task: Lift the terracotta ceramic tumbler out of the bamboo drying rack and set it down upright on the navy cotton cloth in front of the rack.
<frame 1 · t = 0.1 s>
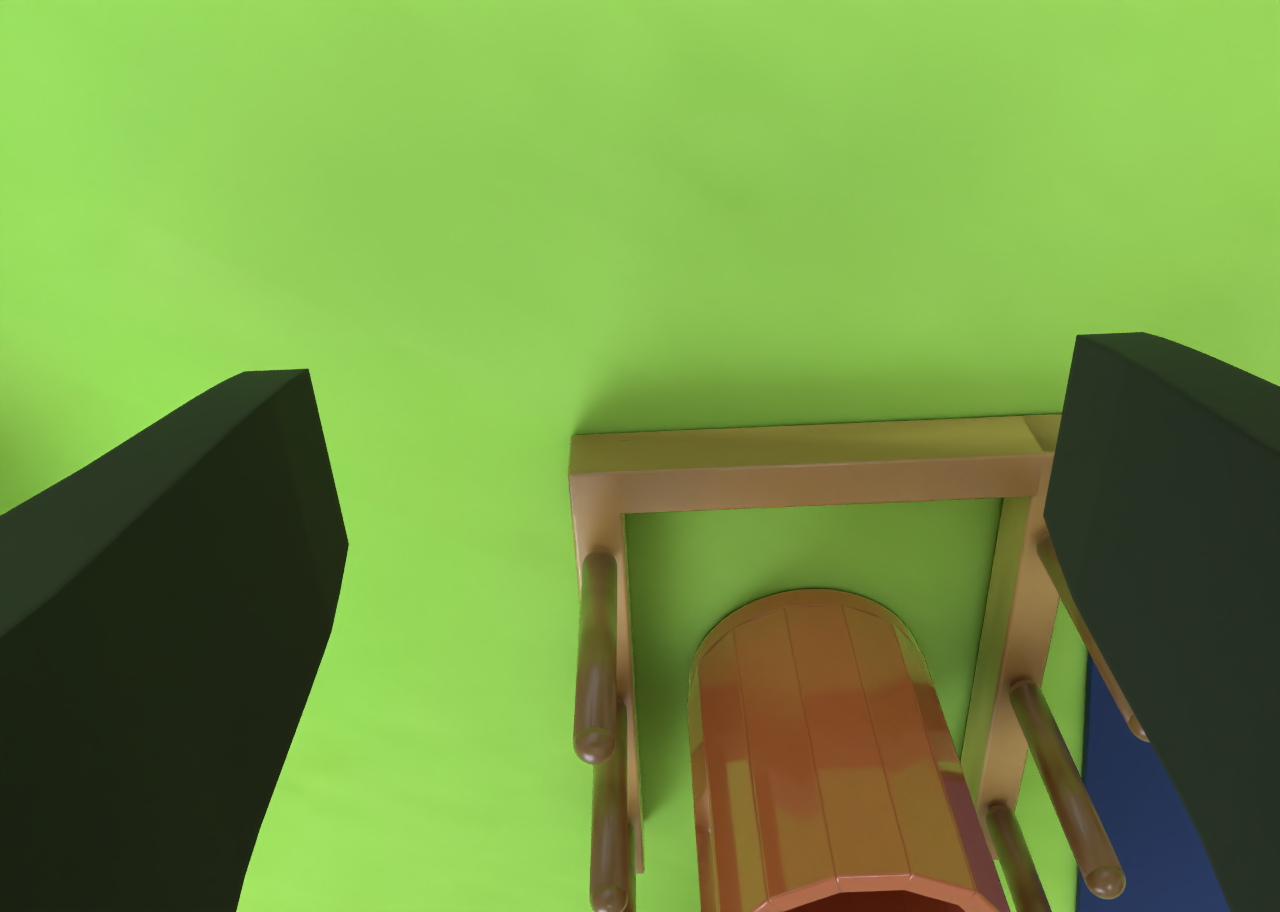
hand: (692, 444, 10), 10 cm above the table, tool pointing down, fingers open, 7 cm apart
drying rack: (805, 646, 25), on the table
tumbler: (804, 678, 26), on the table
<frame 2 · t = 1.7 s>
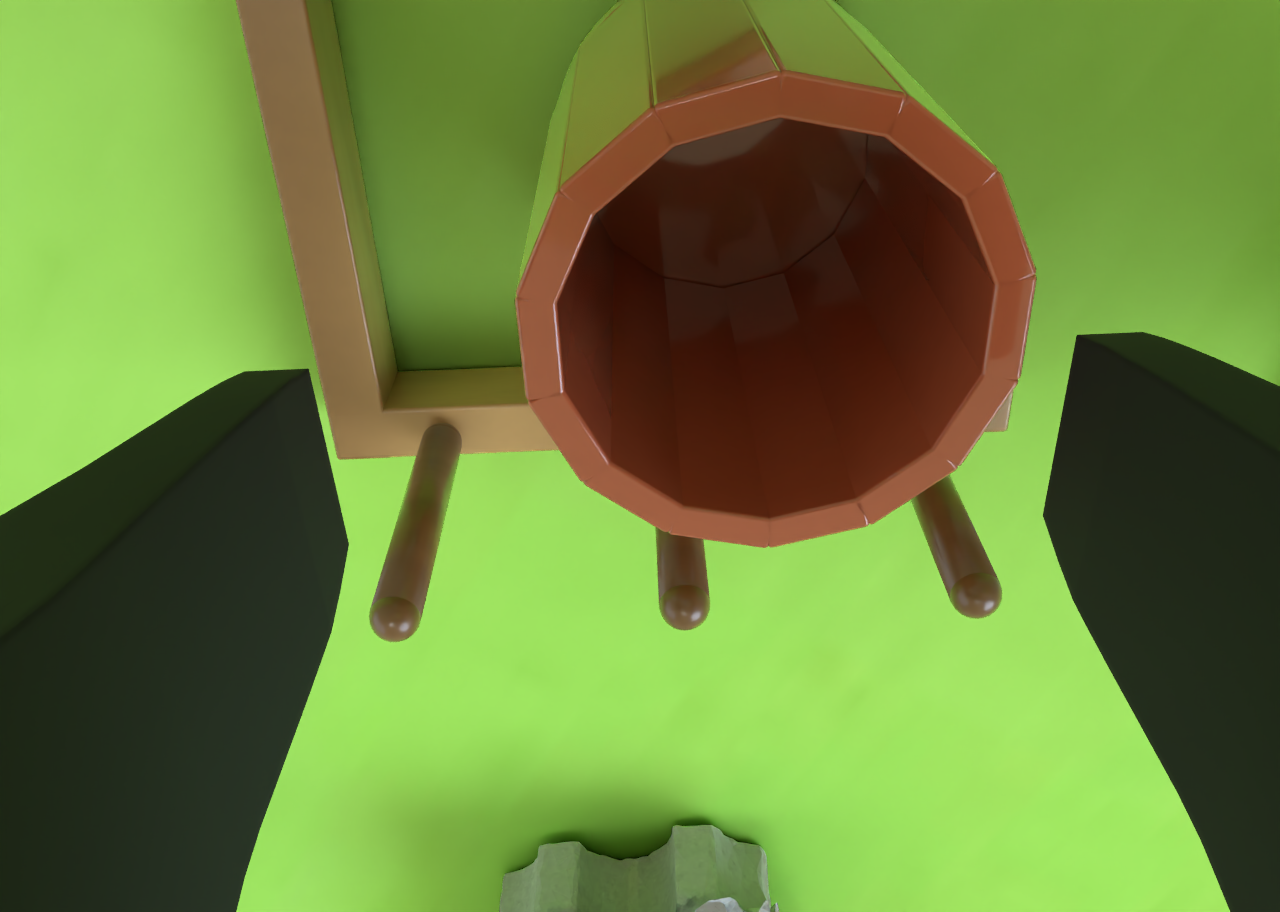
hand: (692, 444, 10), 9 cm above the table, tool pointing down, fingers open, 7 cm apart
drying rack: (660, 143, 18), on the table
tumbler: (720, 140, 18), on the table
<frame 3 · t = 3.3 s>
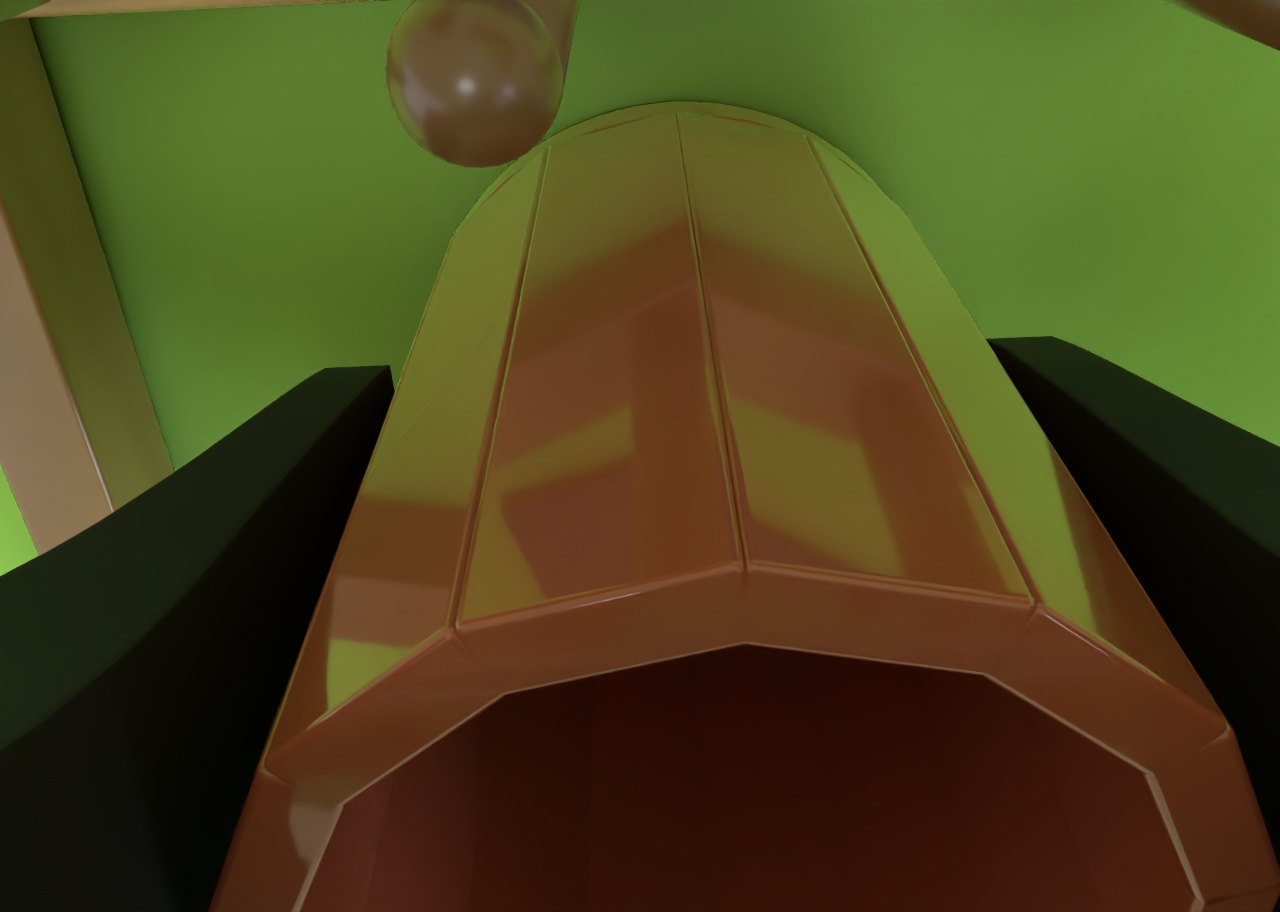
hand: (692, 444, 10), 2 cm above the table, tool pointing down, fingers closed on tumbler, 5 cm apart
drying rack: (590, 354, 12), on the table
tumbler: (679, 350, 12), on the table, touching gripper
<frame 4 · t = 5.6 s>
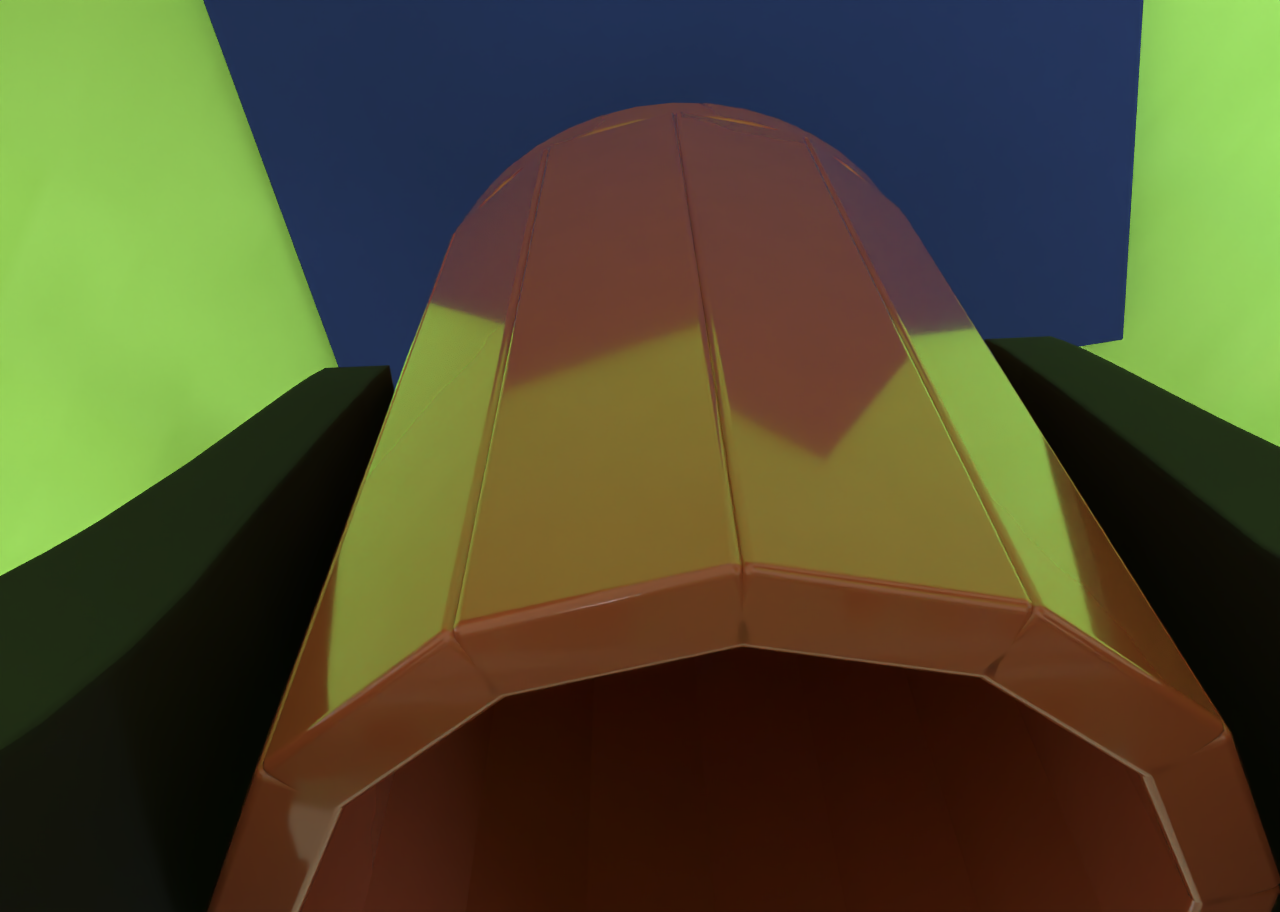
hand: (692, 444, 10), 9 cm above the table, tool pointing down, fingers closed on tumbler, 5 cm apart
cloth: (680, 36, 17), on the table
tumbler: (678, 351, 12), point 7 cm above the table, touching gripper
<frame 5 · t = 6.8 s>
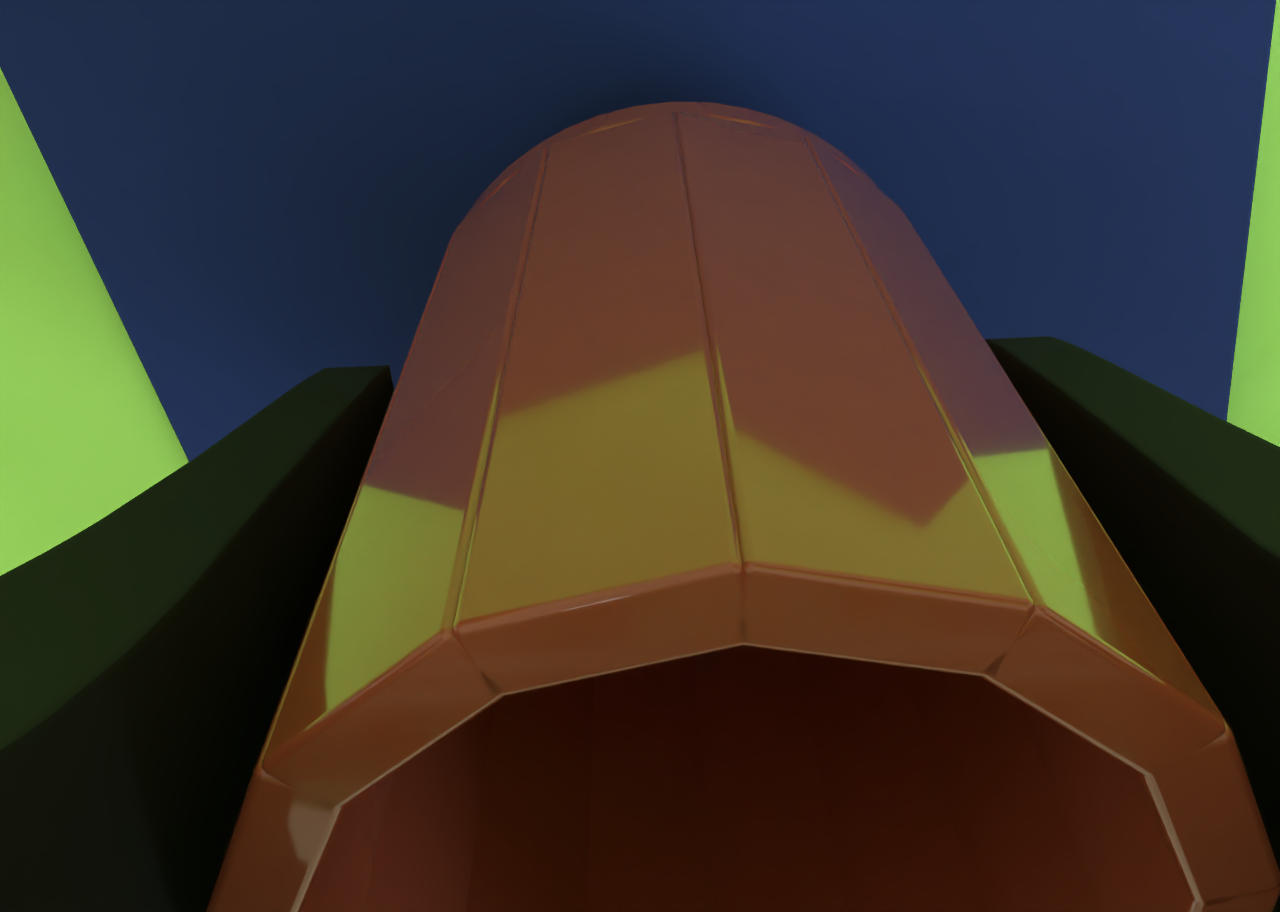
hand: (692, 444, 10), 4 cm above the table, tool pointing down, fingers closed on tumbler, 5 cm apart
cloth: (677, 280, 14), on the table
tumbler: (679, 350, 12), point 2 cm above the table, touching gripper
when the fingers open (2 cm above the table, at t = 7.9 s): tumbler stays where it is, resting on cloth.
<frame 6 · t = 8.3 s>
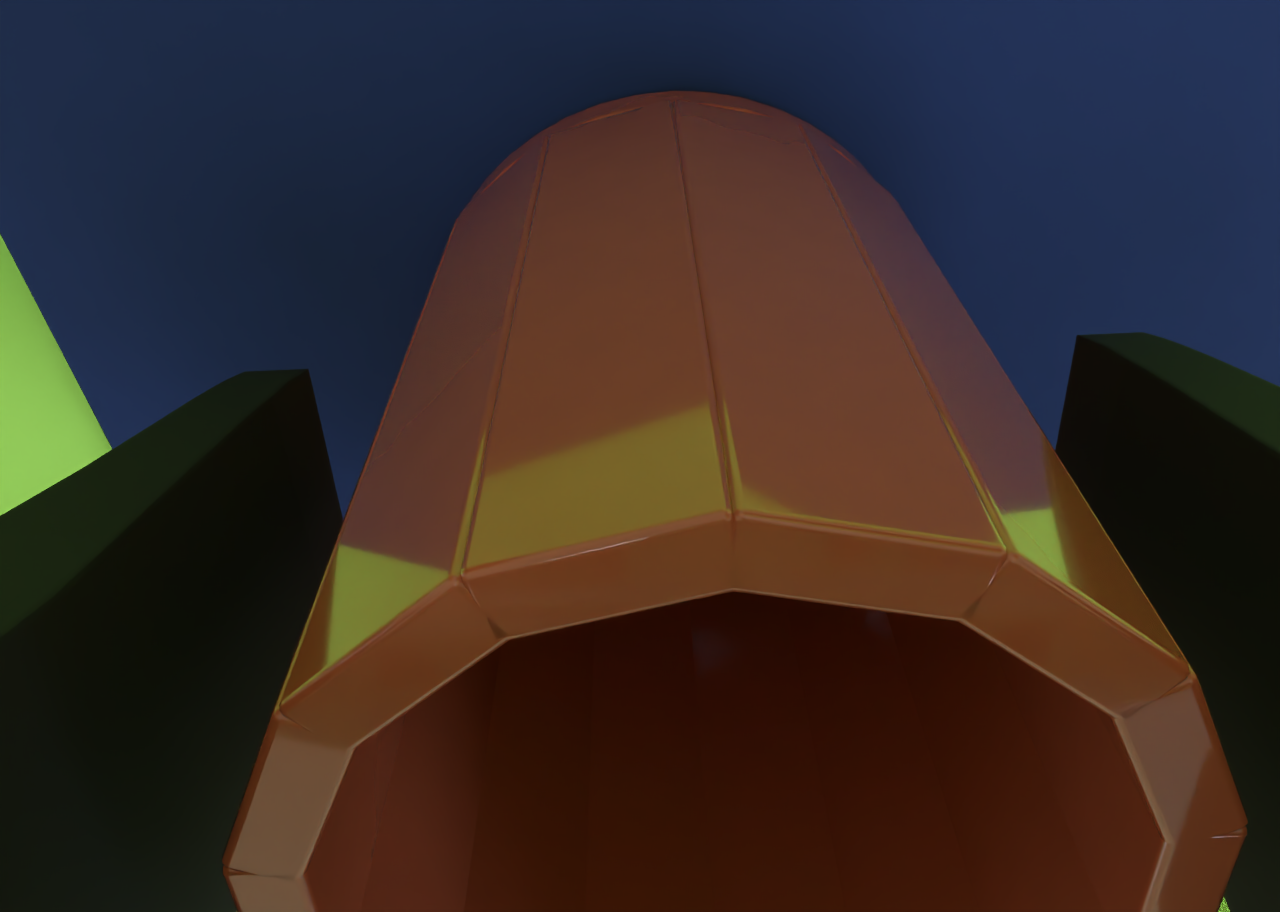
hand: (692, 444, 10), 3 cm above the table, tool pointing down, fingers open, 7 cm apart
cloth: (680, 325, 13), on the table
tumbler: (676, 335, 12), resting on cloth
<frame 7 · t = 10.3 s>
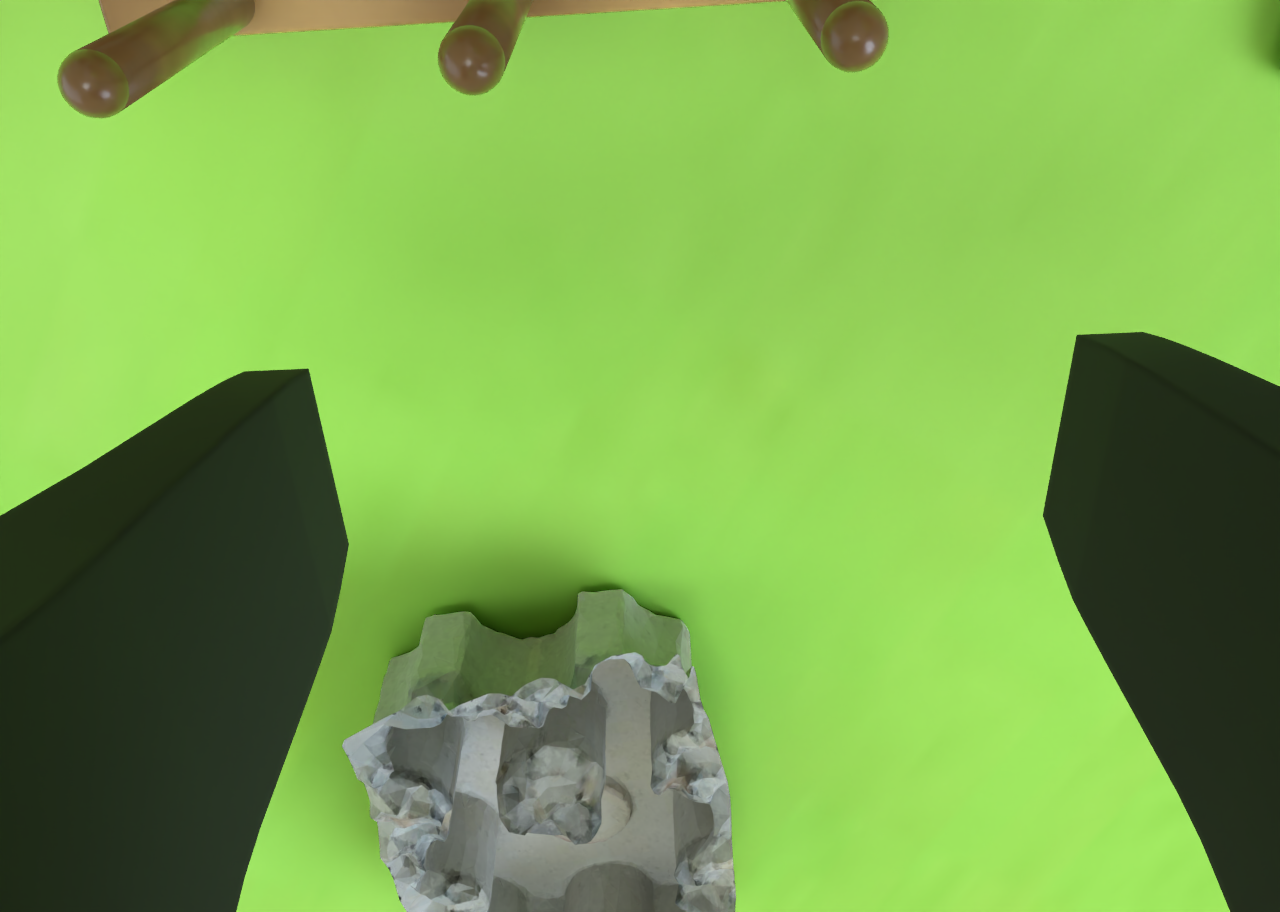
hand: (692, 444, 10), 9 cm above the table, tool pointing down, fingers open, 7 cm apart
egg carton: (564, 751, 26), on the table
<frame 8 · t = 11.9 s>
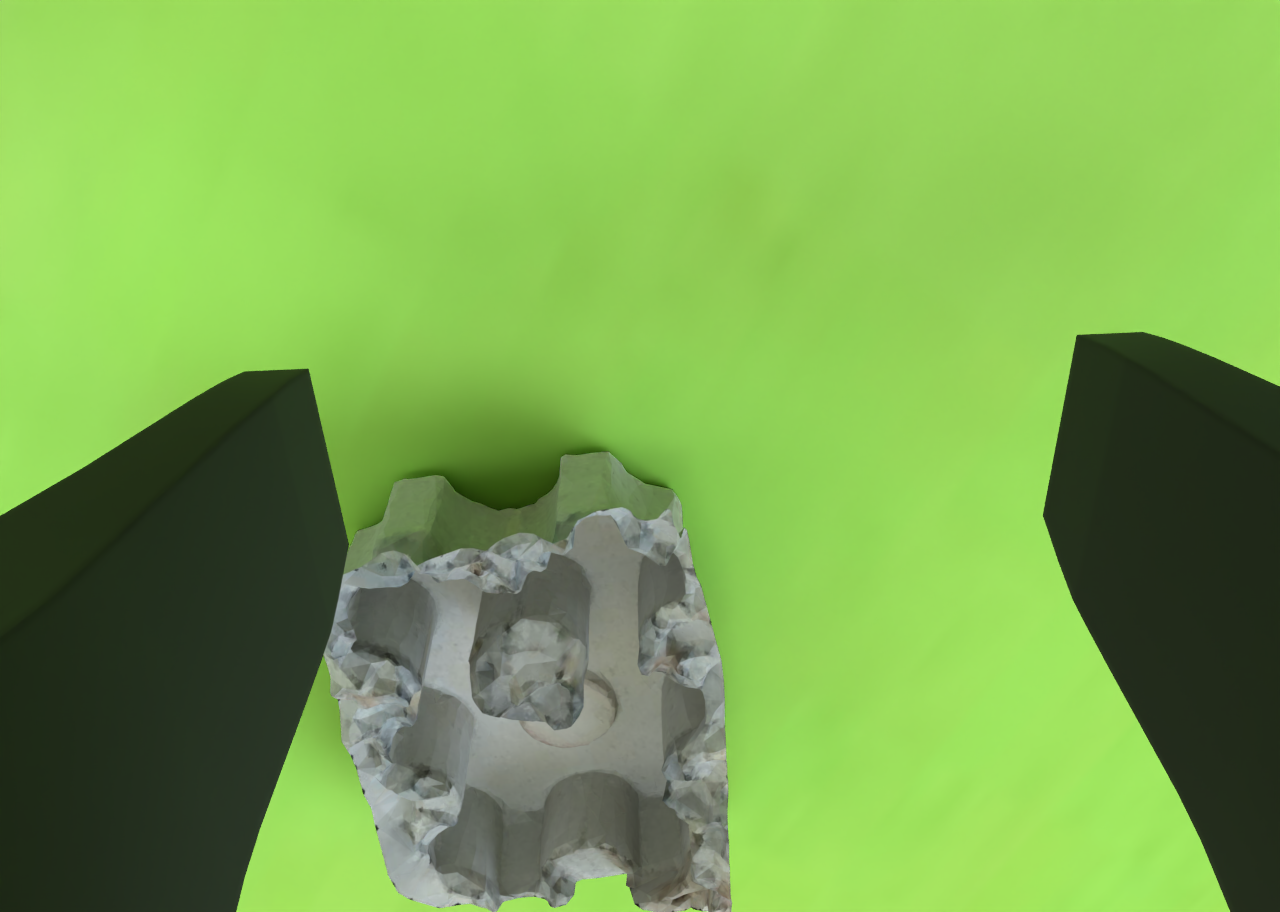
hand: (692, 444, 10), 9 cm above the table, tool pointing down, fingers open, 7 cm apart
egg carton: (545, 644, 25), on the table
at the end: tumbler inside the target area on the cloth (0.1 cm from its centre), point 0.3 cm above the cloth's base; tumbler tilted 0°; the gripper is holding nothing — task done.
